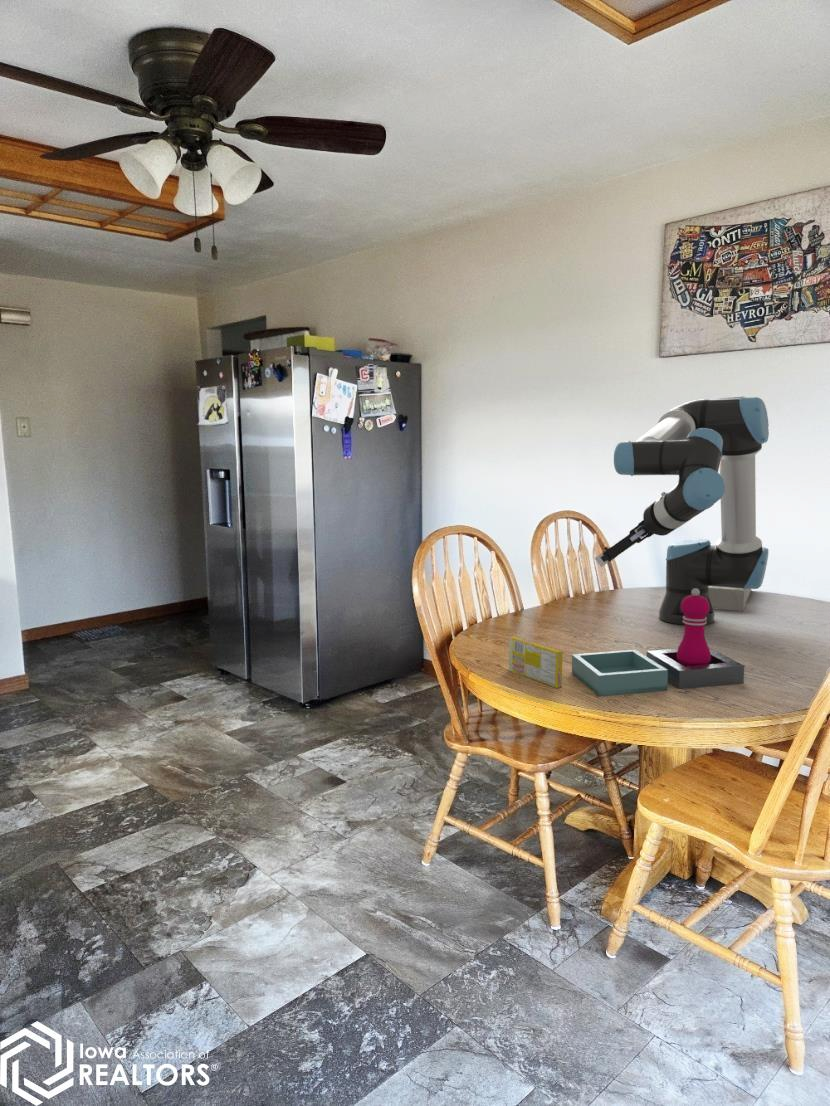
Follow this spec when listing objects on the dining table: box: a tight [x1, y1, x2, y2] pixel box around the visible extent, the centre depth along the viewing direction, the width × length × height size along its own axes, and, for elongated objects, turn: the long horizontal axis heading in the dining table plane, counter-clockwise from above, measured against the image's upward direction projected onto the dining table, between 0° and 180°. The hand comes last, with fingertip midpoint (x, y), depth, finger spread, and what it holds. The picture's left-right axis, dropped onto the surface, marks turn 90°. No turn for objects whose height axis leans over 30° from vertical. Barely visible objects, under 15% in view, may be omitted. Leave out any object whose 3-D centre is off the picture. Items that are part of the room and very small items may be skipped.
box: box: [708, 586, 752, 612], centre depth 235 cm, size 23×8×32 cm
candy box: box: [508, 635, 564, 689], centre depth 162 cm, size 16×2×8 cm, turn 33°
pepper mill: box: [677, 588, 711, 666], centre depth 159 cm, size 7×7×20 cm
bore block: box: [646, 647, 745, 690], centre depth 161 cm, size 15×15×4 cm
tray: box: [571, 649, 668, 697], centre depth 158 cm, size 15×15×4 cm
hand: (617, 548), depth 175 cm, fingers open, 13 cm apart
